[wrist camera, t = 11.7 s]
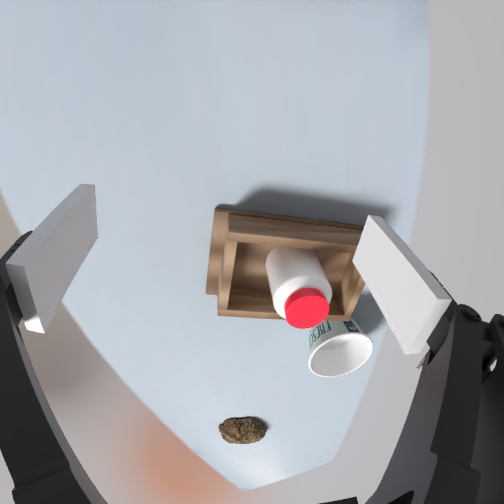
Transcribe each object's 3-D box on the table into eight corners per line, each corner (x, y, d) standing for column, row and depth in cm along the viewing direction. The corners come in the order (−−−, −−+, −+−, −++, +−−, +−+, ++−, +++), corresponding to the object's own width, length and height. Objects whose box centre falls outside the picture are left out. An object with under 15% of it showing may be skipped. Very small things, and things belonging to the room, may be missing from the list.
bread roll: (267, 432, 79) (269, 447, 74) (224, 438, 79) (225, 453, 75) (260, 412, 72) (262, 429, 68) (211, 419, 72) (212, 435, 68)
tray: (214, 208, 43) (214, 228, 38) (373, 227, 46) (390, 247, 41) (205, 290, 50) (204, 316, 45) (346, 299, 54) (357, 322, 48)
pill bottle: (324, 268, 48) (346, 316, 39) (280, 291, 50) (293, 343, 41) (302, 230, 45) (324, 276, 35) (255, 257, 46) (264, 307, 37)
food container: (342, 354, 62) (351, 379, 56) (291, 348, 59) (297, 374, 53) (373, 313, 56) (386, 337, 51) (319, 302, 53) (329, 328, 48)
